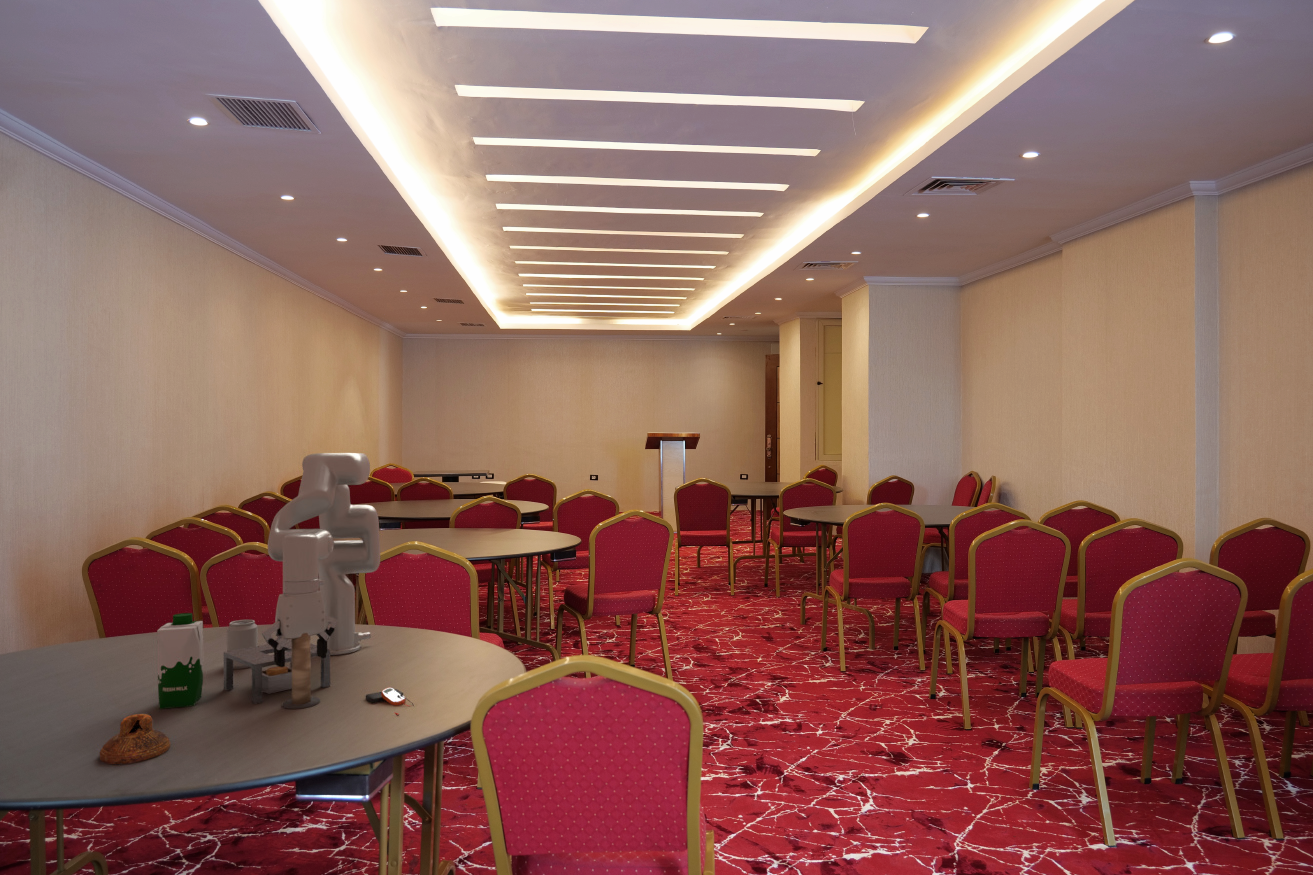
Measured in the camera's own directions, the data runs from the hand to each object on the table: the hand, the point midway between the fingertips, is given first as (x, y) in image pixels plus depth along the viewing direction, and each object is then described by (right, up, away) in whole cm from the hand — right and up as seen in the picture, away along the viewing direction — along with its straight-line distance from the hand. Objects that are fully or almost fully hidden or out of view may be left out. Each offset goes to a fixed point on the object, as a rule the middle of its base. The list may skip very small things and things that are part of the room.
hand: (301, 661), depth 192 cm
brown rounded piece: (-19, -10, -30) cm, 37 cm away
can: (-30, -10, +33) cm, 46 cm away
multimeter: (+23, -10, -1) cm, 26 cm away
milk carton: (-28, -10, +1) cm, 30 cm away
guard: (-11, -10, +12) cm, 19 cm away
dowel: (0, -9, 0) cm, 9 cm away
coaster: (0, -10, 0) cm, 10 cm away
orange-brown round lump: (-11, -10, +12) cm, 19 cm away
